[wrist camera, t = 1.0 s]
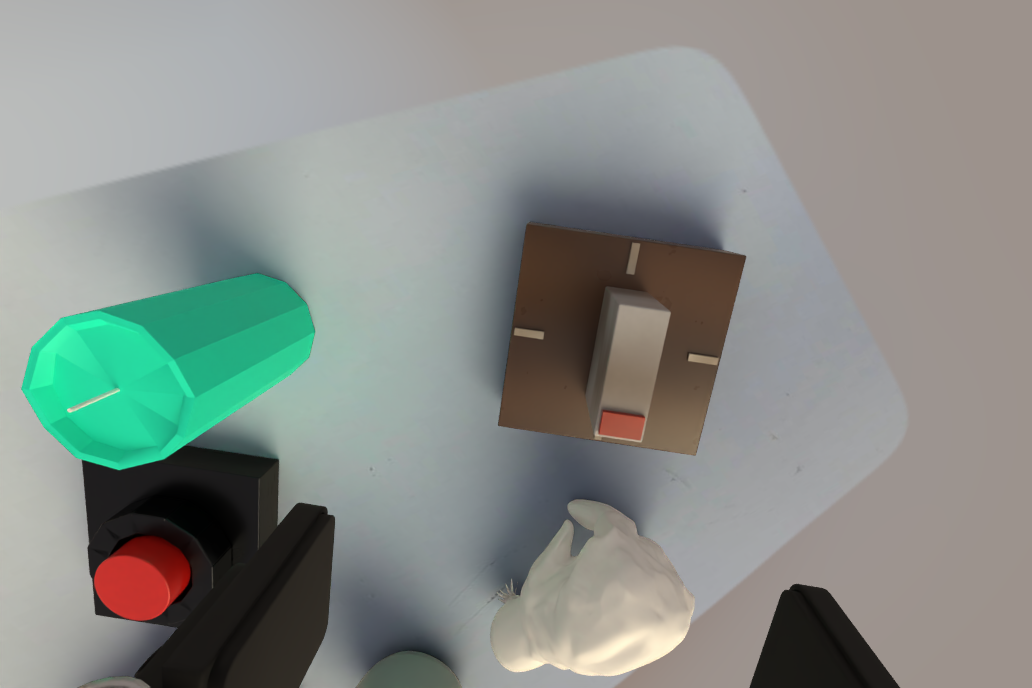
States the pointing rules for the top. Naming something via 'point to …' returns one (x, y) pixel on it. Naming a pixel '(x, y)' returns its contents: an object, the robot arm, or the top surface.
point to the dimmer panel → (574, 323)
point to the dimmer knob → (625, 363)
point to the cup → (409, 672)
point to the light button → (142, 578)
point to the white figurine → (594, 601)
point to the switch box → (183, 515)
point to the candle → (164, 367)
